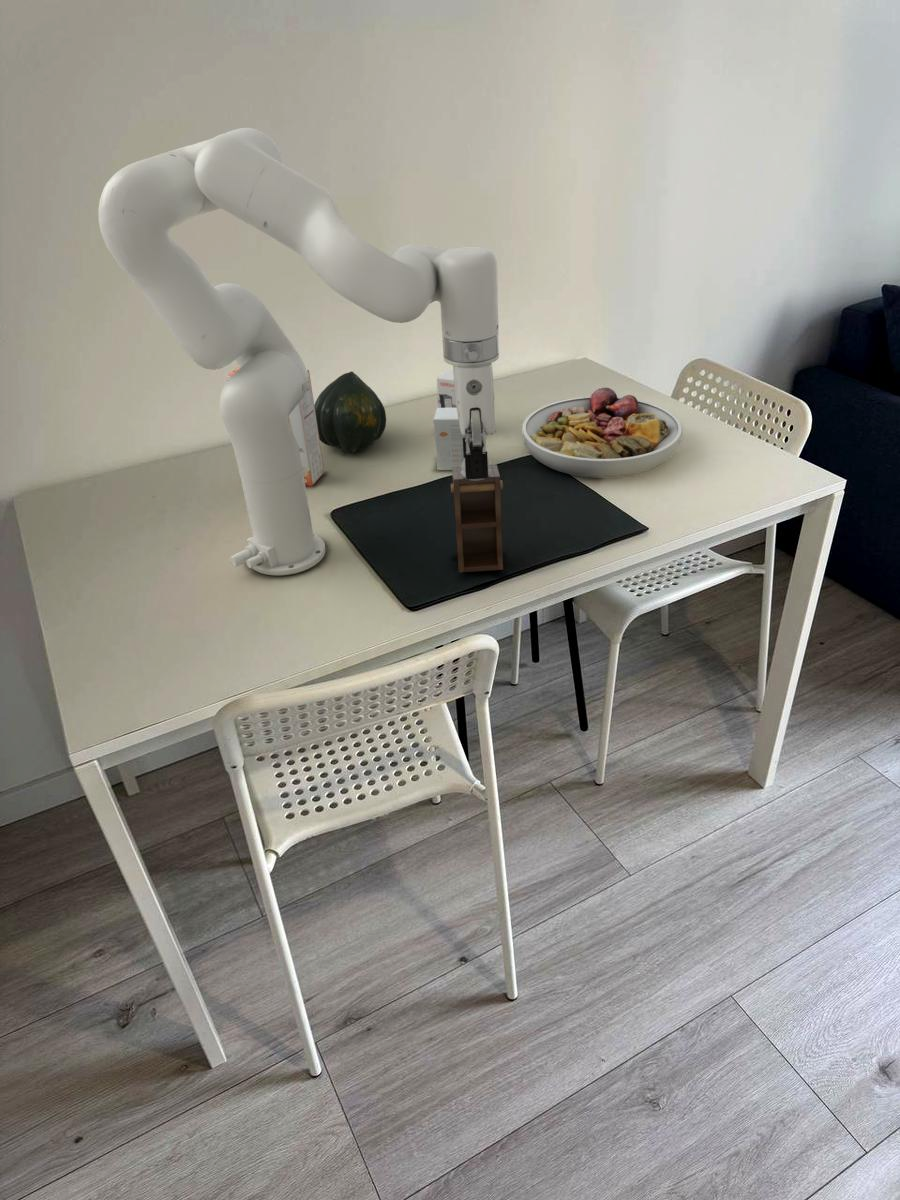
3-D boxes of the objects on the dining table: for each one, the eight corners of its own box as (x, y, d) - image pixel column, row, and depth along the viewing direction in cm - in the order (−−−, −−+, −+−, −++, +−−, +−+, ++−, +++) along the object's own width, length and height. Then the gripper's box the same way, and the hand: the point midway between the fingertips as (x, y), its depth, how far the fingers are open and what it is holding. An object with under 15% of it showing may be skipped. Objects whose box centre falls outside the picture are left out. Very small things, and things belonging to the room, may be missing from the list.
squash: (313, 443, 165) (355, 374, 162) (291, 419, 176) (329, 355, 174) (371, 475, 173) (411, 411, 170) (346, 451, 185) (383, 390, 182)
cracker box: (245, 481, 165) (223, 375, 153) (260, 467, 170) (240, 363, 158) (312, 488, 161) (295, 379, 149) (325, 473, 166) (309, 367, 154)
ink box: (437, 433, 178) (434, 378, 172) (446, 424, 182) (443, 369, 176) (478, 437, 176) (475, 381, 169) (485, 427, 180) (483, 372, 173)
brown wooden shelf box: (449, 466, 131) (450, 479, 126) (499, 463, 132) (502, 476, 126) (454, 557, 138) (456, 572, 133) (502, 553, 138) (505, 569, 133)
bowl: (684, 487, 154) (689, 446, 149) (515, 483, 158) (515, 444, 154) (675, 419, 178) (678, 382, 173) (528, 418, 183) (528, 382, 178)
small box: (480, 457, 168) (478, 406, 162) (478, 470, 164) (476, 418, 158) (439, 458, 169) (436, 406, 163) (436, 470, 164) (433, 418, 158)
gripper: (504, 366, 109) (506, 495, 120) (493, 325, 123) (496, 444, 134) (445, 370, 109) (452, 499, 120) (440, 329, 123) (447, 447, 133)
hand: (475, 469), depth 126 cm, fingers closed on rook chess piece, 4 cm apart
